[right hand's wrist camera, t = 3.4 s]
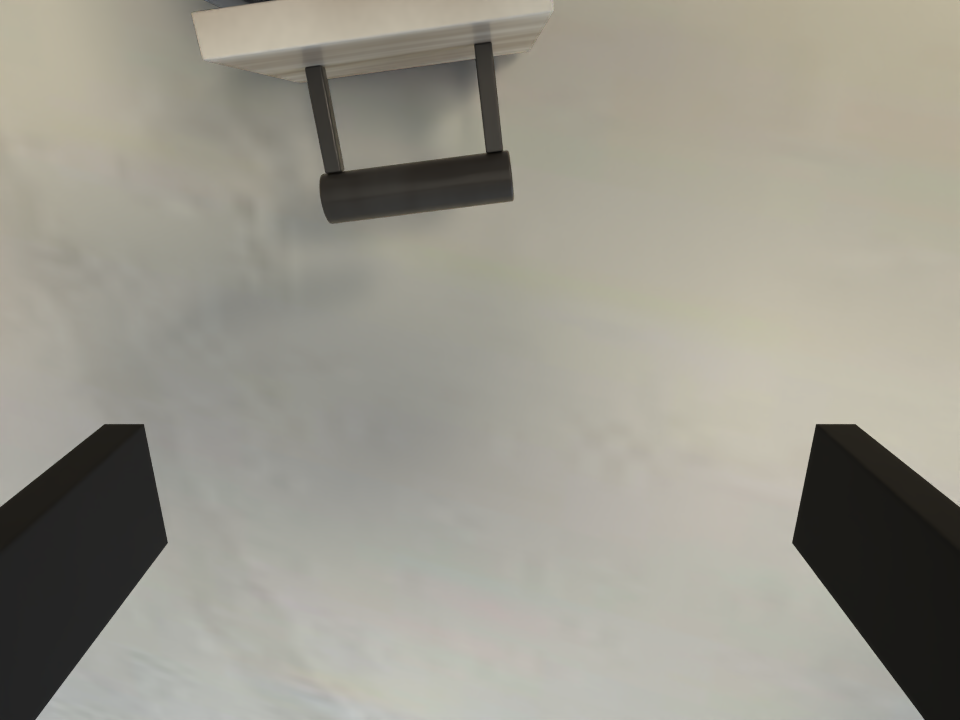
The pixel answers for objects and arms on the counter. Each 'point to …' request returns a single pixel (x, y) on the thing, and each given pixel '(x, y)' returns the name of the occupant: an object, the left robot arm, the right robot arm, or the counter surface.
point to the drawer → (375, 48)
